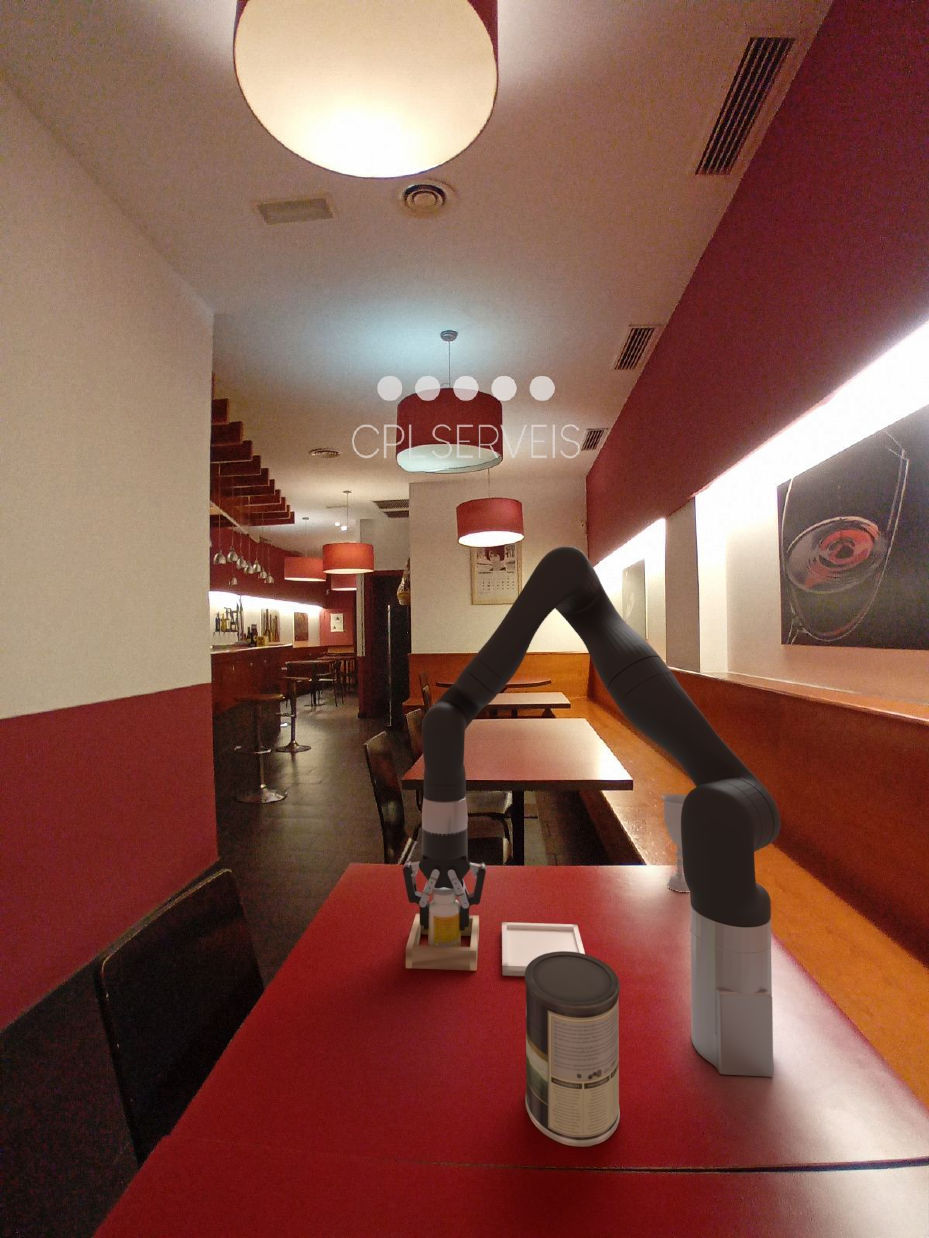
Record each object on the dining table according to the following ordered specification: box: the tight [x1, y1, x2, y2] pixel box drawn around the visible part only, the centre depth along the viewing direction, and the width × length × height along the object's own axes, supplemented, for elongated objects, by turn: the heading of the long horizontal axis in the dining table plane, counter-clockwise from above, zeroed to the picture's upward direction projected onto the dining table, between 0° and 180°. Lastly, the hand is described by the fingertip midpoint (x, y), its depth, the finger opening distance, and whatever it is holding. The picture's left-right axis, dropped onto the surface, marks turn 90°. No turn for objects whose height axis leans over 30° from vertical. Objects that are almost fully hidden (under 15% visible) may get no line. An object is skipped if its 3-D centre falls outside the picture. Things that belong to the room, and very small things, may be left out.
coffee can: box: [524, 951, 621, 1148], centre depth 63 cm, size 10×10×14 cm
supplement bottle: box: [427, 887, 462, 947], centre depth 94 cm, size 5×5×10 cm
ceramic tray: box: [501, 921, 586, 977], centre depth 93 cm, size 13×13×2 cm
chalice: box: [661, 793, 689, 892], centre depth 117 cm, size 7×7×18 cm
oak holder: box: [405, 913, 480, 972], centre depth 94 cm, size 11×11×3 cm
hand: (444, 927), depth 94 cm, fingers closed on supplement bottle, 5 cm apart
